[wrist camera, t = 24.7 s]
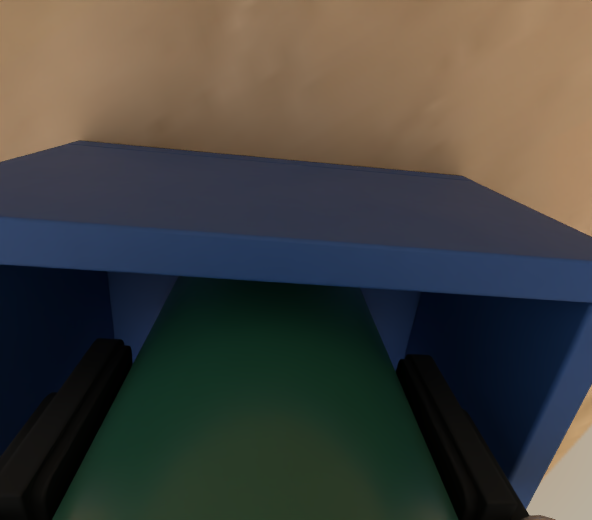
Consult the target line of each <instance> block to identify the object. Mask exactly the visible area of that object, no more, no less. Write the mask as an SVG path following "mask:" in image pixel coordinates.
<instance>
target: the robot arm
mask: <svg viewBox="0 0 592 520" xmlns="http://www.w3.org/2000/svg"><path fill="white" fill-rule="evenodd" d="M132 365H133V361H132V350H131V347H130V346H126V345H124V342H123V340H122V339H106V338H98V339H96V340H95V341H94V342H93V344H92V345H91V347H90V348H89V349H88V351H87V352H86V353H85V355H84V356H83V358H82V359H81V360H80V362H79V363H78V365H77V366H76V367H75V369H74V370H73V371H72V373H71V374H70V376H69V377H68V378H67V380H66V381H65V383H64V384H63V385H62V387H61V388H60V389H59V391H58V392H52V393H50V394H48V395H47V396H46V397H45V398H44V399H43V401H42V402H41V403H40V405H39V406H38V407H37V409H36V410H35V411H34V413H33V414H32V415H31V417H30V418H29V419H28V421H27V422H26V423H25V425H24V426H23V427H22V429H21V430H20V431H19V433H18V434H17V435H16V437H15V438H14V439H13V441H12V442H11V443H10V445H9V446H8V447H7V449H6V450H5V451H4V453H3V454H2V455H1V457H0V520H52V519H53V517H54V515H55V513H56V511H57V509H58V507H59V505H60V503H61V502H62V500H63V498H64V496H65V494H66V492H67V490H68V488H69V486H70V484H71V482H72V480H73V478H74V477H75V475H76V473H77V471H78V469H79V467H80V465H81V463H82V461H83V459H84V457H85V455H86V453H87V452H88V450H89V448H90V446H91V444H92V442H93V440H94V438H95V436H96V434H97V432H98V430H99V428H100V427H101V425H102V423H103V421H104V419H105V417H106V415H107V413H108V411H109V409H110V407H111V405H112V403H113V402H114V400H115V398H116V396H117V394H118V392H119V390H120V388H121V386H122V384H123V382H124V380H125V378H126V377H127V375H128V373H129V371H130V369H131V367H132ZM396 374H397V376H398V379H399V381H400V383H401V386H402V388H403V390H404V393H405V395H406V398H407V400H408V402H409V405H410V407H411V409H412V412H413V414H414V416H415V419H416V421H417V423H418V426H419V428H420V430H421V433H422V435H423V437H424V440H425V442H426V444H427V447H428V449H429V452H430V454H431V456H432V459H433V461H434V463H435V466H436V468H437V470H438V473H439V475H440V477H441V480H442V482H443V484H444V487H445V489H446V491H447V494H448V496H449V498H450V501H451V503H452V505H453V508H454V510H455V513H456V515H457V517H458V520H555V519H552V518H548V517H545V516H541V515H536V516H529V514H528V512H527V511H526V509H525V507H524V506H523V504H522V502H521V501H520V499H519V497H518V496H517V494H516V492H515V491H514V489H513V487H512V486H511V484H510V482H509V480H508V479H507V477H506V475H505V474H504V472H503V470H502V469H501V467H500V465H499V464H498V462H497V460H496V459H495V457H494V455H493V454H492V452H491V450H490V449H489V447H488V445H487V444H486V442H485V440H484V439H483V437H482V435H481V434H480V432H479V430H478V429H477V427H476V425H475V424H474V422H473V420H472V419H471V417H470V415H469V414H468V413H467V411H465V410H464V409H462V408H461V406H460V404H459V403H458V401H457V399H456V397H455V396H454V394H453V392H452V391H451V389H450V387H449V386H448V384H447V382H446V380H445V379H444V377H443V375H442V374H441V372H440V370H439V368H438V367H437V365H436V363H435V362H434V360H433V358H432V357H431V356H430V355H420V354H407V355H406V357H405V359H400V360H399V362H398V365H397V369H396Z"/></svg>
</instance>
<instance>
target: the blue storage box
mask: <svg viewBox="0 0 592 520" xmlns="http://www.w3.org/2000/svg"><path fill="white" fill-rule="evenodd" d="M179 276H186V277H201V278H216V279H232V280H247V281H263V282H278V283H294V284H309V285H324V286H340V287H355V288H360V290H361V292H362V294H363V297H364V299H365V301H366V304H367V306H368V308H369V311H370V313H371V315H372V318H373V320H374V322H375V325H376V327H377V329H378V332H379V334H380V337H381V339H382V341H383V344H384V346H385V348H386V351H387V353H388V355H389V358H390V360H391V362H392V365H393V367H394V369H395V372H396V369H397V365H398V362H399V360H400V359H405V357H406V355H407V354H420V355H430V356H431V357H432V358H433V360H434V362H435V363H436V365H437V367H438V368H439V370H440V372H441V374H442V375H443V377H444V379H445V380H446V382H447V384H448V386H449V387H450V389H451V391H452V392H453V394H454V396H455V397H456V399H457V401H458V403H459V404H460V406H461V408H462V409H464V410H465V411H467V413H468V414H469V415H470V417H471V419H472V420H473V422H474V424H475V425H476V427H477V429H478V430H479V432H480V434H481V435H482V437H483V439H484V440H485V442H486V444H487V445H488V447H489V449H490V450H491V452H492V454H493V455H494V457H495V459H496V460H497V462H498V464H499V465H500V467H501V469H502V470H503V472H504V474H505V475H506V477H507V479H508V480H509V482H510V484H511V486H512V487H513V489H514V491H515V492H516V494H517V496H518V497H519V499H520V501H521V502H522V504H523V506H524V507H525V509H526V508H527V506H528V505H529V503H530V501H531V499H532V497H533V495H534V493H535V491H536V489H537V488H538V486H539V484H540V482H541V480H542V478H543V476H544V474H545V472H546V470H547V469H548V467H549V465H550V463H551V461H552V459H553V457H554V455H555V453H556V451H557V449H558V448H559V446H560V444H561V442H562V440H563V438H564V436H565V434H566V432H567V430H568V429H569V427H570V425H571V423H572V421H573V419H574V417H575V415H576V413H577V411H578V409H579V408H580V406H581V404H582V402H583V400H584V398H585V396H586V394H587V392H588V390H589V389H590V387H591V385H592V237H591V236H588V235H586V234H584V233H582V232H580V231H578V230H576V229H574V228H571V227H569V226H567V225H565V224H563V223H561V222H559V221H557V220H554V219H552V218H550V217H548V216H546V215H544V214H542V213H540V212H537V211H535V210H533V209H531V208H529V207H527V206H525V205H523V204H520V203H518V202H516V201H514V200H512V199H510V198H508V197H506V196H504V195H501V194H499V193H497V192H495V191H493V190H491V189H489V188H487V187H484V186H482V185H480V184H478V183H476V182H474V181H472V180H470V179H468V178H466V177H463V176H458V175H447V174H436V173H425V172H415V171H404V170H393V169H382V168H371V167H360V166H350V165H339V164H328V163H317V162H306V161H295V160H284V159H274V158H263V157H252V156H241V155H230V154H219V153H209V152H198V151H187V150H176V149H165V148H154V147H144V146H133V145H122V144H111V143H100V142H89V141H76V142H72V143H69V144H66V145H62V146H58V147H54V148H51V149H47V150H43V151H40V152H36V153H32V154H28V155H25V156H21V157H17V158H14V159H10V160H6V161H2V162H0V457H1V455H2V454H3V453H4V451H5V450H6V449H7V447H8V446H9V445H10V443H11V442H12V441H13V439H14V438H15V437H16V435H17V434H18V433H19V431H20V430H21V429H22V427H23V426H24V425H25V423H26V422H27V421H28V419H29V418H30V417H31V415H32V414H33V413H34V411H35V410H36V409H37V407H38V406H39V405H40V403H41V402H42V401H43V399H44V398H45V397H46V396H47V395H48V394H50V393H52V392H58V391H59V389H60V388H61V387H62V385H63V384H64V383H65V381H66V380H67V378H68V377H69V376H70V374H71V373H72V371H73V370H74V369H75V367H76V366H77V365H78V363H79V362H80V360H81V359H82V358H83V356H84V355H85V353H86V352H87V351H88V349H89V348H90V347H91V345H92V344H93V342H94V341H95V340H96V339H98V338H106V339H122V340H123V342H124V345H126V346H130V347H131V350H132V361H133V363H134V361H135V359H136V357H137V355H138V353H139V352H140V350H141V348H142V346H143V344H144V342H145V340H146V338H147V336H148V334H149V332H150V330H151V328H152V327H153V325H154V323H155V321H156V319H157V317H158V315H159V313H160V311H161V309H162V307H163V305H164V303H165V302H166V300H167V298H168V296H169V294H170V292H171V290H172V288H173V286H174V284H175V282H176V281H177V279H178V277H179Z"/></svg>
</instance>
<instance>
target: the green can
mask: <svg viewBox="0 0 592 520" xmlns="http://www.w3.org/2000/svg"><path fill="white" fill-rule="evenodd" d="M52 520H458V517H457V515H456V513H455V510H454V508H453V505H452V503H451V501H450V498H449V496H448V494H447V491H446V489H445V487H444V484H443V482H442V480H441V477H440V475H439V473H438V470H437V468H436V466H435V463H434V461H433V459H432V456H431V454H430V452H429V449H428V447H427V444H426V442H425V440H424V437H423V435H422V433H421V430H420V428H419V426H418V423H417V421H416V419H415V416H414V414H413V412H412V409H411V407H410V405H409V402H408V400H407V398H406V395H405V393H404V390H403V388H402V386H401V383H400V381H399V379H398V376H397V374H396V372H395V369H394V367H393V365H392V362H391V360H390V358H389V355H388V353H387V351H386V348H385V346H384V344H383V341H382V339H381V337H380V334H379V332H378V329H377V327H376V325H375V322H374V320H373V318H372V315H371V313H370V311H369V308H368V306H367V304H366V301H365V299H364V297H363V294H362V292H361V290H360V288H355V287H340V286H324V285H309V284H294V283H278V282H263V281H247V280H232V279H216V278H201V277H186V276H179V277H178V279H177V281H176V282H175V284H174V286H173V288H172V290H171V292H170V294H169V296H168V298H167V300H166V302H165V303H164V305H163V307H162V309H161V311H160V313H159V315H158V317H157V319H156V321H155V323H154V325H153V327H152V328H151V330H150V332H149V334H148V336H147V338H146V340H145V342H144V344H143V346H142V348H141V350H140V352H139V353H138V355H137V357H136V359H135V361H134V363H133V365H132V367H131V369H130V371H129V373H128V375H127V377H126V378H125V380H124V382H123V384H122V386H121V388H120V390H119V392H118V394H117V396H116V398H115V400H114V402H113V403H112V405H111V407H110V409H109V411H108V413H107V415H106V417H105V419H104V421H103V423H102V425H101V427H100V428H99V430H98V432H97V434H96V436H95V438H94V440H93V442H92V444H91V446H90V448H89V450H88V452H87V453H86V455H85V457H84V459H83V461H82V463H81V465H80V467H79V469H78V471H77V473H76V475H75V477H74V478H73V480H72V482H71V484H70V486H69V488H68V490H67V492H66V494H65V496H64V498H63V500H62V502H61V503H60V505H59V507H58V509H57V511H56V513H55V515H54V517H53V519H52Z"/></svg>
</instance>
